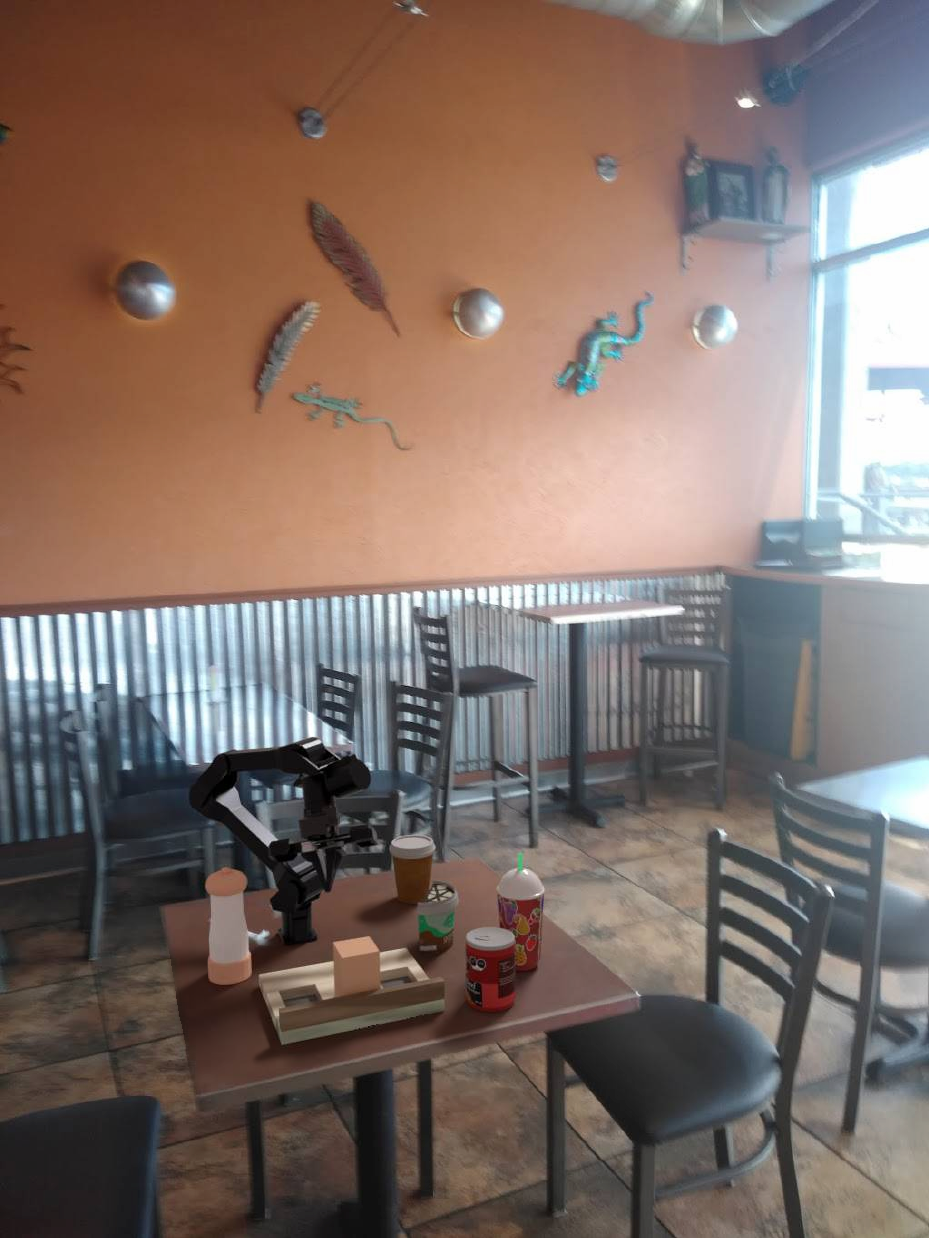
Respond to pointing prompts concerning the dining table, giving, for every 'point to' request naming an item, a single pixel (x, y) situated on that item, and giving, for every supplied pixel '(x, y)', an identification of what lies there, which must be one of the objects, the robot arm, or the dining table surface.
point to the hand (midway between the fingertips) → (327, 892)
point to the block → (356, 966)
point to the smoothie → (522, 913)
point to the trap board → (348, 998)
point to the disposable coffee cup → (412, 866)
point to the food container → (437, 918)
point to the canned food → (490, 969)
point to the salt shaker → (228, 928)
